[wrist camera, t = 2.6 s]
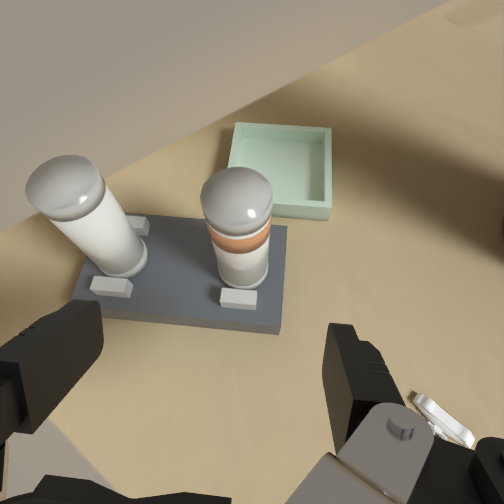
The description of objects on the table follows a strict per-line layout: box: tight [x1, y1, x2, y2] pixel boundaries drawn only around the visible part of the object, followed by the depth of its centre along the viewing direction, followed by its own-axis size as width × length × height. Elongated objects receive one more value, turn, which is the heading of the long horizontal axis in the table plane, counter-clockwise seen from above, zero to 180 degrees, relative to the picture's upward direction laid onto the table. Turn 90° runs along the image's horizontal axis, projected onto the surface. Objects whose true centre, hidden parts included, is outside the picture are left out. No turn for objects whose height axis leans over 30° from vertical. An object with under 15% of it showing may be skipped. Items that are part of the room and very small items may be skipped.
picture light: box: [323, 385, 475, 448], centre depth 21 cm, size 14×4×2 cm, turn 47°
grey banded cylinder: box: [200, 167, 273, 290], centre depth 20 cm, size 4×4×9 cm
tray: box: [228, 122, 332, 221], centre depth 30 cm, size 9×9×2 cm
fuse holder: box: [70, 213, 287, 335], centre depth 25 cm, size 15×8×4 cm, turn 84°
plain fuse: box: [26, 155, 149, 279], centre depth 21 cm, size 4×4×9 cm
